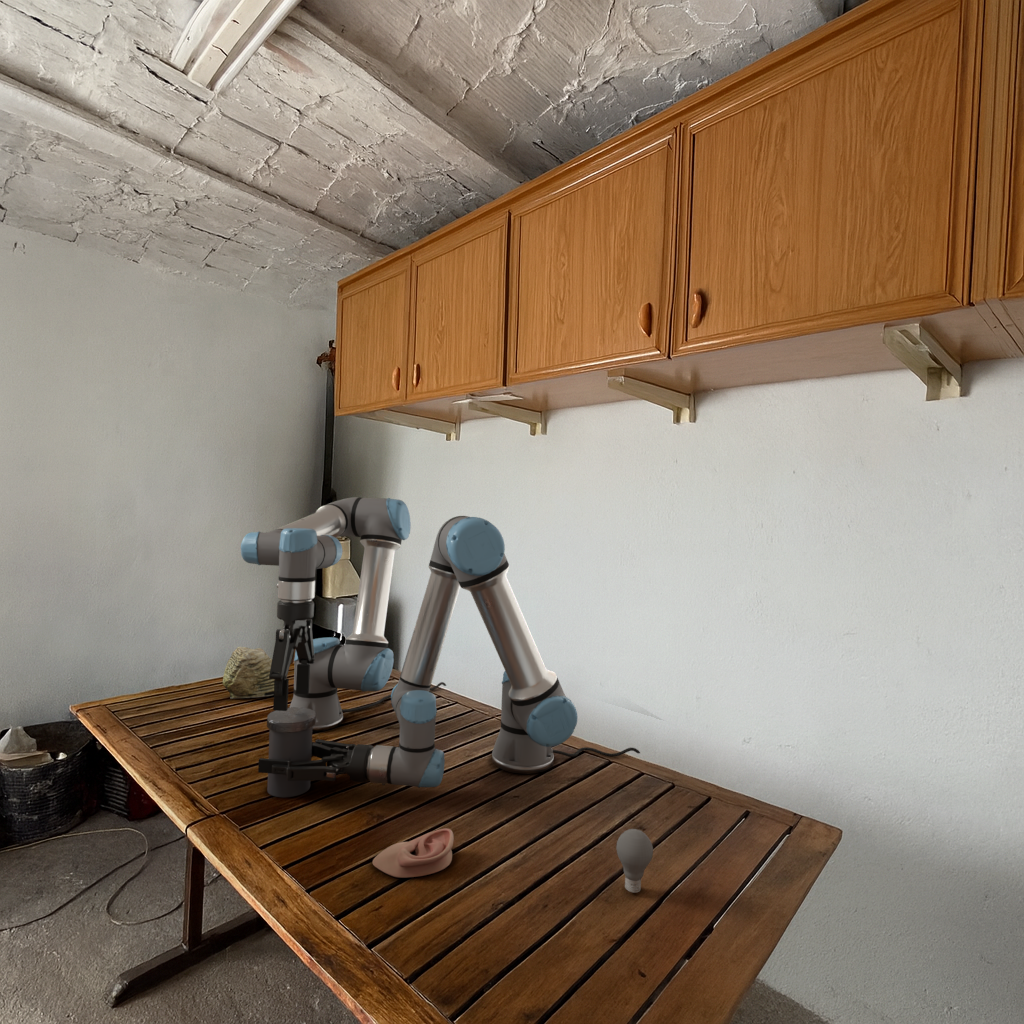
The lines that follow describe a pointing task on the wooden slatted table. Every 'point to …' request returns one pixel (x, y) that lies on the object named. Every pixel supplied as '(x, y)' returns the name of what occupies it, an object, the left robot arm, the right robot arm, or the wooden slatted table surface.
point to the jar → (288, 748)
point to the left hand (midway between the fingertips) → (291, 701)
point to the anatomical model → (417, 855)
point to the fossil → (248, 674)
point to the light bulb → (634, 857)
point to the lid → (291, 720)
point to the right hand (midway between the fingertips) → (269, 756)
